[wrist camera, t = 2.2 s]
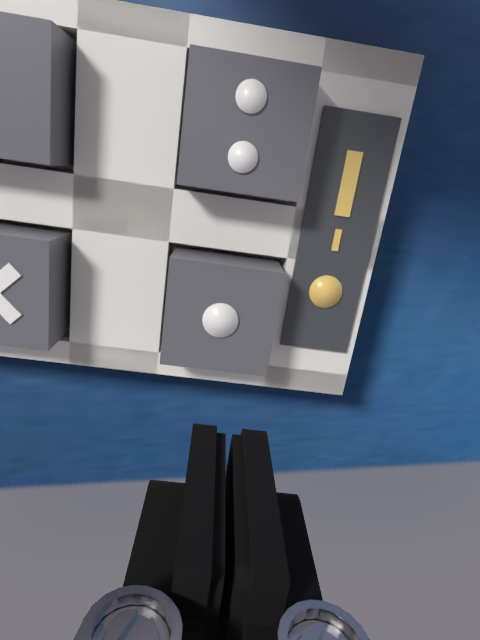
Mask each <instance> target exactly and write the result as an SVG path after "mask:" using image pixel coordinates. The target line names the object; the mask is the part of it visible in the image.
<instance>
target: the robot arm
mask: <svg viewBox="0 0 480 640" xmlns="http://www.w3.org/2000/svg"><path fill="white" fill-rule="evenodd" d="M225 449H226V435H225V433H217V426H212V425H203V424H194V423H193V429H192V437H191V444H190V452H189V460H188V467H187V475H186V482H185V483H176V482H167V481H157V480H150V482H149V485H148V489H147V493H146V497H145V501H144V505H143V509H142V513H141V517H140V521H139V525H138V529H137V532H136V537H135V540H134V545H133V548H132V552H131V557H130V560H129V564H128V568H127V572H126V576H125V581H124V584H123V587H121V588H118V589H116V590H113V591H111V592H109V593H107V594H105V595H104V596H103V597H102V598H100V599H99V600H98V601H97V602H96V603H95V604H93V606H92V607H91V609H90V610H89V612H88V613H87V614H86V616H85V617H84V619H83V621H82V624H81V625H80V628H79V629H78V631H77V634H76V636H75V638H74V640H370V639H369V638H368V636H367V634H366V632H365V631H364V629H363V627H362V626H361V625H360V624H359V623H358V622H357V621H356V620H355V619H354V618H353V617H352V616H351V615H350V614H349V613H348V612H346V611H344V610H343V609H341V608H340V607H338V606H336V605H334V604H331V603H328V602H325V601H323V600H322V595H321V591H320V586H319V582H318V578H317V573H316V569H315V564H314V560H313V556H312V551H311V547H310V542H309V538H308V534H307V529H306V525H305V520H304V516H303V512H302V507H301V503H300V500H299V497H298V496H297V495H296V494H287V493H277V492H276V488H275V481H274V475H273V468H272V462H271V456H270V450H269V443H268V437H267V432H266V431H257V430H248V429H242V432H241V435H235V434H233V435H232V439H231V445H230V452H229V458H228V464H227V470H226V477H225Z"/></svg>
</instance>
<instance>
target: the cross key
mask: <svg viewBox="0 0 480 640" xmlns="http://www.w3.org/2000/svg"><path fill="white" fill-rule="evenodd" d="M71 260H72V231H66V230H58V229H51V228H44V227H36V226H29V225H22V224H15V223H7V222H0V346H8V347H16V348H25V349H33V350H42V351H49V350H50V349H51V348H52V347H53V346H54V345H55V344H56V343H57V342H58V341H59V340H60V339H61V338H62V336H63V335H64V334H65V333H66V332H67V331H68V330H69V329H70V300H71Z"/></svg>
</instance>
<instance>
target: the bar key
mask: <svg viewBox="0 0 480 640" xmlns="http://www.w3.org/2000/svg"><path fill="white" fill-rule="evenodd" d="M76 58H77V42H76V41H75V40H74V39H73V38H72V37H70V36H69V35H68V34H67V33H66V32H64V31H63V30H62V29H61V28H60V27H59V26H57V25H56V24H55V23H54V22H53V21H52V20H48V19H42V18H36V17H30V16H24V15H19V14H13V13H7V12H1V11H0V158H2V159H9V160H16V161H22V162H29V163H36V164H43V165H49V166H74V139H75V98H76Z"/></svg>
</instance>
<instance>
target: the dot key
mask: <svg viewBox="0 0 480 640" xmlns="http://www.w3.org/2000/svg"><path fill="white" fill-rule="evenodd" d="M284 276H285V272H284V270H283V268H282V267H281V265H280V263H279V262H278V260H277V259H269V258H262V257H255V256H247V255H240V254H233V253H226V252H218V251H211V250H204V249H196V248H189V247H182V246H176V248H175V249H174V251H173V253H172V254H171V256H170V258H169V269H168V279H167V290H166V300H165V311H164V321H163V332H162V343H161V353H160V364H162V365H170V366H179V367H188V368H196V369H205V370H213V371H222V372H230V373H239V374H248V375H256V376H265V377H267V371H268V366H269V360H270V354H271V349H272V343H273V338H274V332H275V327H276V321H277V315H278V310H279V304H280V299H281V293H282V288H283V282H284Z"/></svg>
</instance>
